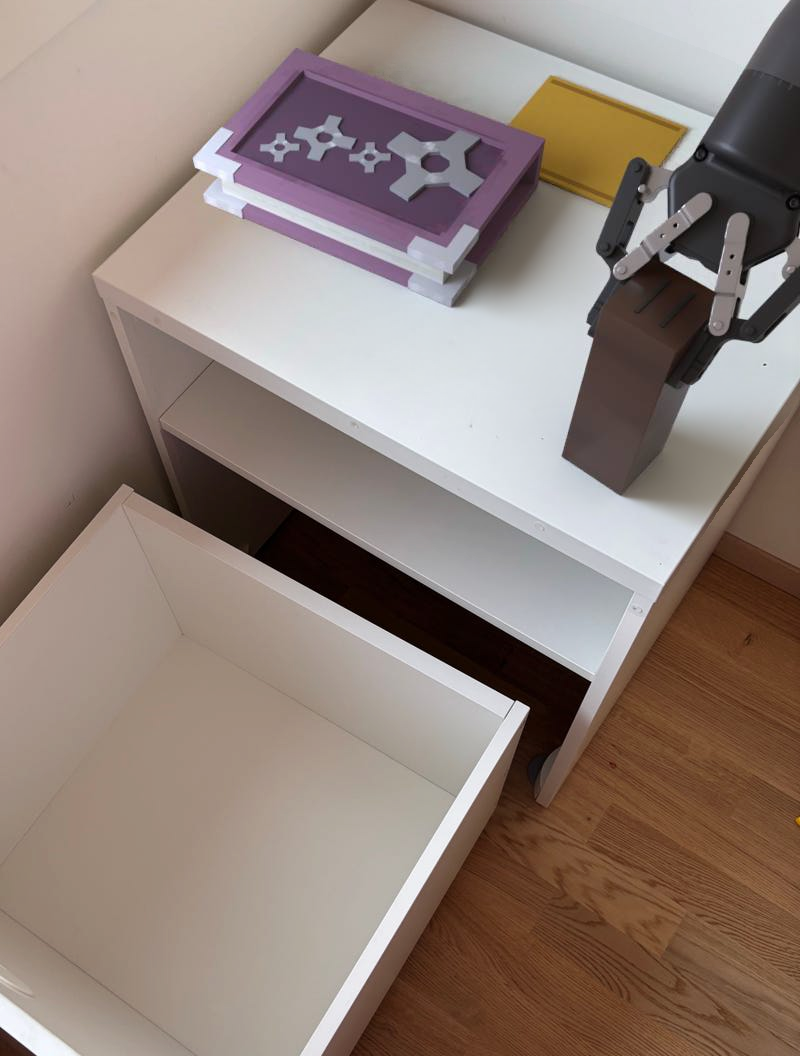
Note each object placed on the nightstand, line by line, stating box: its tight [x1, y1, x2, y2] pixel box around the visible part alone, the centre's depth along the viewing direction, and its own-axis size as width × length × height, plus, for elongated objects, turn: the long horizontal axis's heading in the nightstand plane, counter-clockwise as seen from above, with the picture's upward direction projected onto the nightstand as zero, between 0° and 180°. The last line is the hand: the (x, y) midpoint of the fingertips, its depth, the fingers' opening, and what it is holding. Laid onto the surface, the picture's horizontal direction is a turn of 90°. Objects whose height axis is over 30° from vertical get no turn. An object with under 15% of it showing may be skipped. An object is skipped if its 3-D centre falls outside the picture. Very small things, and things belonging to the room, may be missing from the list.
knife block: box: [561, 260, 715, 496], centre depth 69 cm, size 6×6×16 cm
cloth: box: [508, 74, 688, 209], centre depth 90 cm, size 14×12×1 cm
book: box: [192, 47, 545, 308], centre depth 87 cm, size 25×16×5 cm, turn 58°
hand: (634, 361), depth 65 cm, fingers closed on knife block, 5 cm apart
